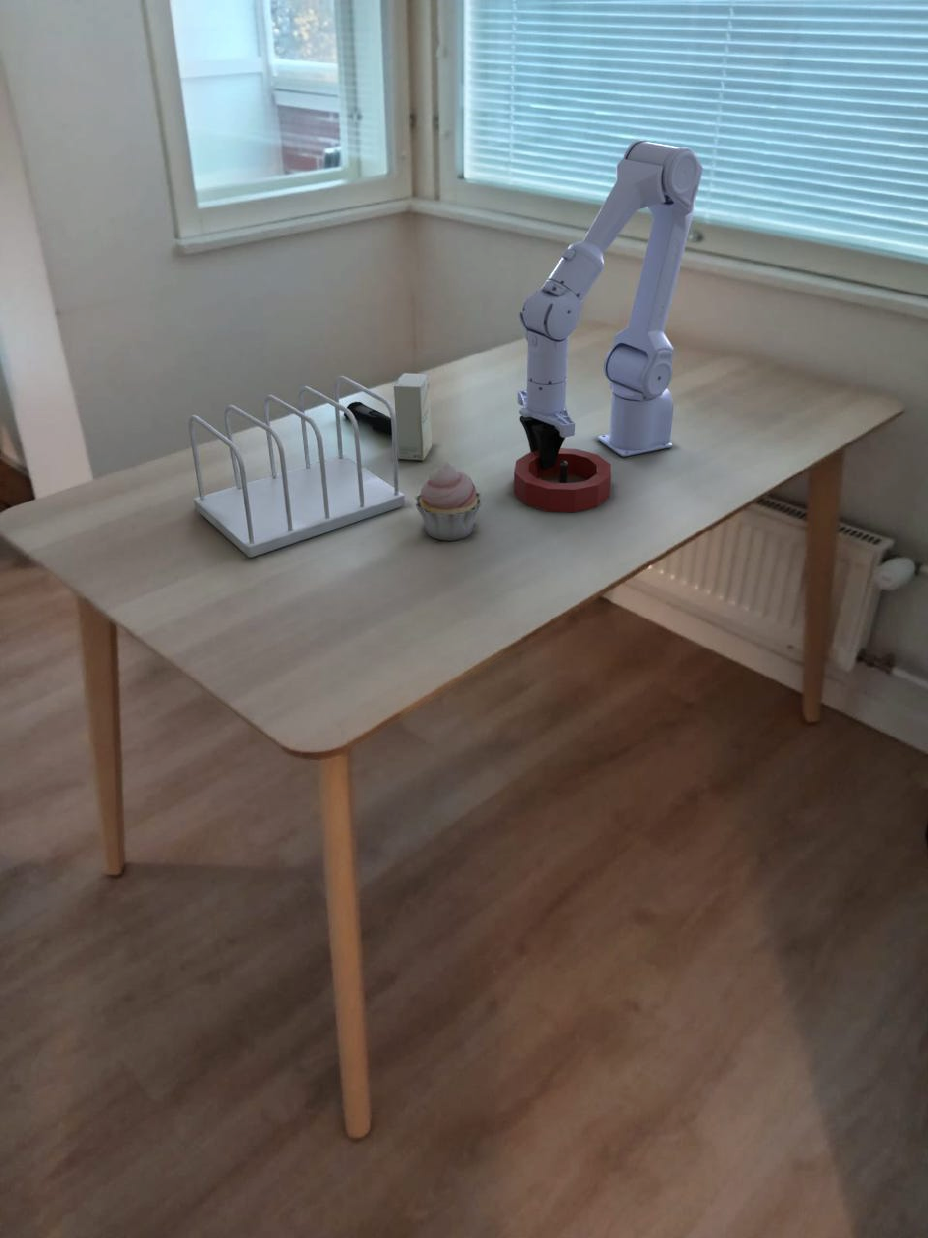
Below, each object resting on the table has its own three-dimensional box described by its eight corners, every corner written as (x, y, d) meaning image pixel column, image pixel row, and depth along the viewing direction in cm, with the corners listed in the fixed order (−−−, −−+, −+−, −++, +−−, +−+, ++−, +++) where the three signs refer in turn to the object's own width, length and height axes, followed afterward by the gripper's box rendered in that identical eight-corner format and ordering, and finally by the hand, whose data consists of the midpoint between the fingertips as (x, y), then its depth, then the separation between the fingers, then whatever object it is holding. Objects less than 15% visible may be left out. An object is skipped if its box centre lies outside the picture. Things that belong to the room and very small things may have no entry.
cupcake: (487, 516, 135) (487, 451, 129) (476, 549, 127) (476, 482, 122) (423, 512, 136) (420, 447, 131) (408, 544, 129) (405, 477, 123)
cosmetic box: (423, 461, 150) (421, 387, 144) (396, 459, 151) (392, 385, 144) (432, 445, 155) (430, 373, 149) (406, 443, 156) (403, 371, 149)
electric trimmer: (397, 446, 156) (397, 428, 154) (342, 418, 165) (340, 401, 163) (415, 440, 158) (415, 422, 156) (359, 413, 167) (358, 395, 165)
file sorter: (249, 560, 126) (232, 451, 117) (195, 511, 137) (175, 409, 128) (406, 505, 138) (401, 403, 129) (344, 465, 150) (335, 368, 141)
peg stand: (573, 475, 146) (574, 446, 143) (599, 496, 140) (602, 466, 137) (526, 485, 143) (527, 455, 140) (551, 507, 137) (552, 477, 134)
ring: (579, 463, 149) (580, 441, 147) (627, 500, 139) (629, 477, 137) (499, 479, 145) (499, 458, 143) (541, 519, 134) (542, 496, 132)
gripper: (500, 365, 142) (499, 450, 149) (545, 398, 131) (542, 488, 138) (542, 359, 144) (539, 442, 152) (590, 390, 133) (584, 479, 141)
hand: (543, 463), depth 145 cm, fingers closed on ring, 2 cm apart
